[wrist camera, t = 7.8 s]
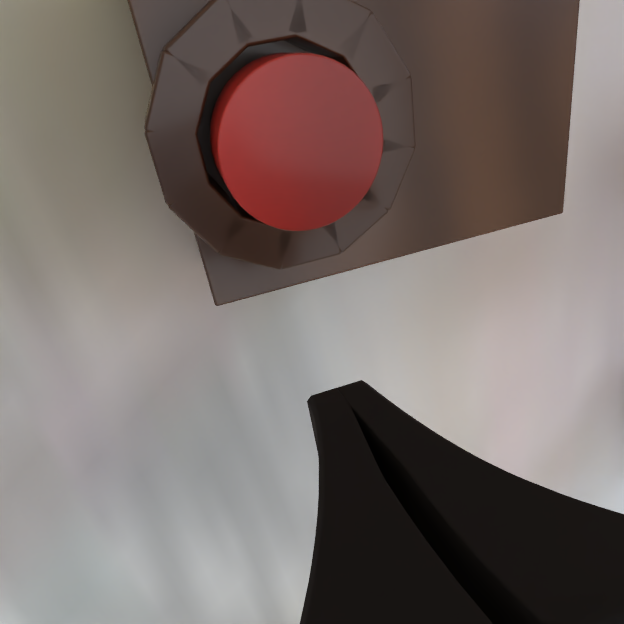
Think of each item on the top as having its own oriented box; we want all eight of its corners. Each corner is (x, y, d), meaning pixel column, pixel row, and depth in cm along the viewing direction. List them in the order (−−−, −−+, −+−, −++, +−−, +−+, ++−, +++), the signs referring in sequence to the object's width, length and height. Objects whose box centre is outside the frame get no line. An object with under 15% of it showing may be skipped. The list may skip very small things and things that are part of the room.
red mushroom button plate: (193, 266, 20) (207, 340, 15) (102, -37, 15) (78, -81, 10) (500, 188, 22) (605, 229, 17) (505, -100, 18) (652, -162, 12)
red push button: (230, 228, 14) (239, 248, 13) (190, 69, 12) (196, 72, 11) (366, 194, 15) (390, 210, 13) (349, 38, 13) (375, 37, 11)
